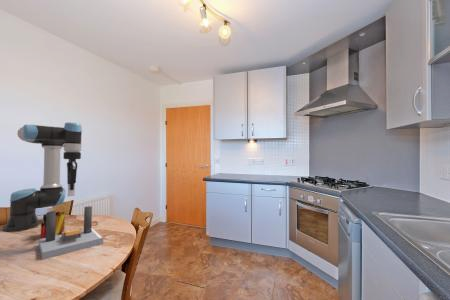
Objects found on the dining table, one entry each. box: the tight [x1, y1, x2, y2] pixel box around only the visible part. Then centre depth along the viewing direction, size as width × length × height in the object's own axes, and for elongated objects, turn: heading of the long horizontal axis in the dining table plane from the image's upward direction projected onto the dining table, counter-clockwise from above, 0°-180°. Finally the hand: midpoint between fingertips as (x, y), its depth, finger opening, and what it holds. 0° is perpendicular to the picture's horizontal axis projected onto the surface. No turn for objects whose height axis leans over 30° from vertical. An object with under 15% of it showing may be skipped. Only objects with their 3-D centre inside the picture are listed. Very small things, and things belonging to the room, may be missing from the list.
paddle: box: [64, 229, 81, 236], centre depth 108 cm, size 12×6×2 cm, turn 46°
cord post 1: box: [46, 210, 57, 242], centre depth 106 cm, size 4×4×14 cm
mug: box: [40, 211, 66, 239], centre depth 118 cm, size 10×14×12 cm
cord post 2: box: [83, 205, 93, 233], centre depth 117 cm, size 4×4×14 cm
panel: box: [38, 227, 104, 260], centre depth 108 cm, size 20×24×7 cm
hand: (71, 195), depth 112 cm, fingers closed
